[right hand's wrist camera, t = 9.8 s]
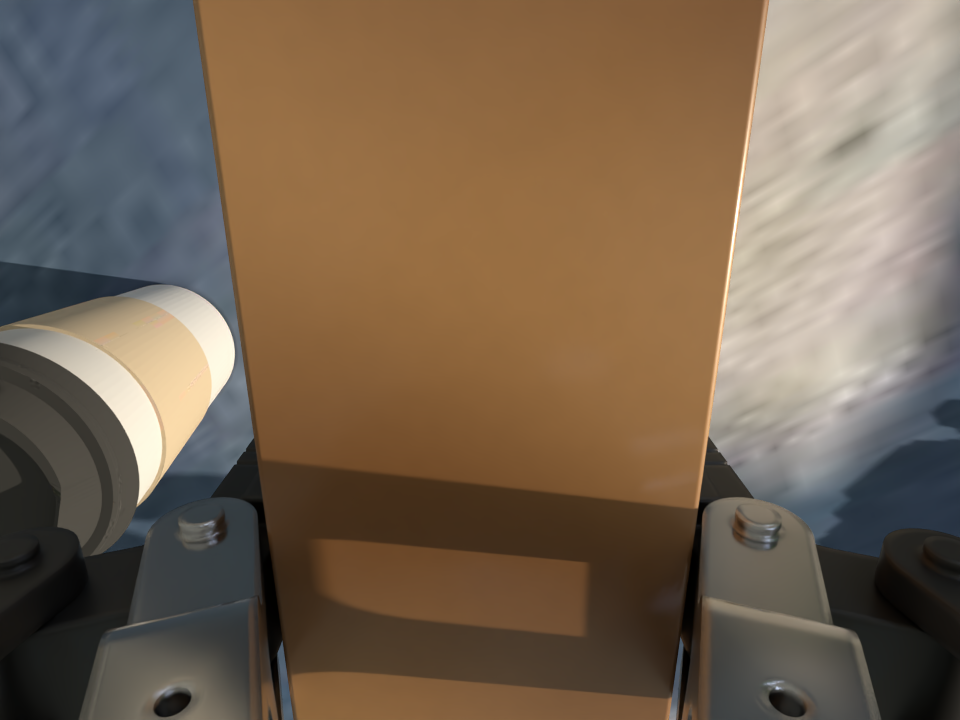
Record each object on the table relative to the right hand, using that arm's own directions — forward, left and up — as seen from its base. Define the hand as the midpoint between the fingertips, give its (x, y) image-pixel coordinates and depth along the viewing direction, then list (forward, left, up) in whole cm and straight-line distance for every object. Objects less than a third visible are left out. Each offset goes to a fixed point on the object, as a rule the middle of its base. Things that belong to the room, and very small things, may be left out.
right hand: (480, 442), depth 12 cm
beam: (+16, -27, -3) cm, 31 cm away
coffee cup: (+12, +13, -21) cm, 28 cm away
